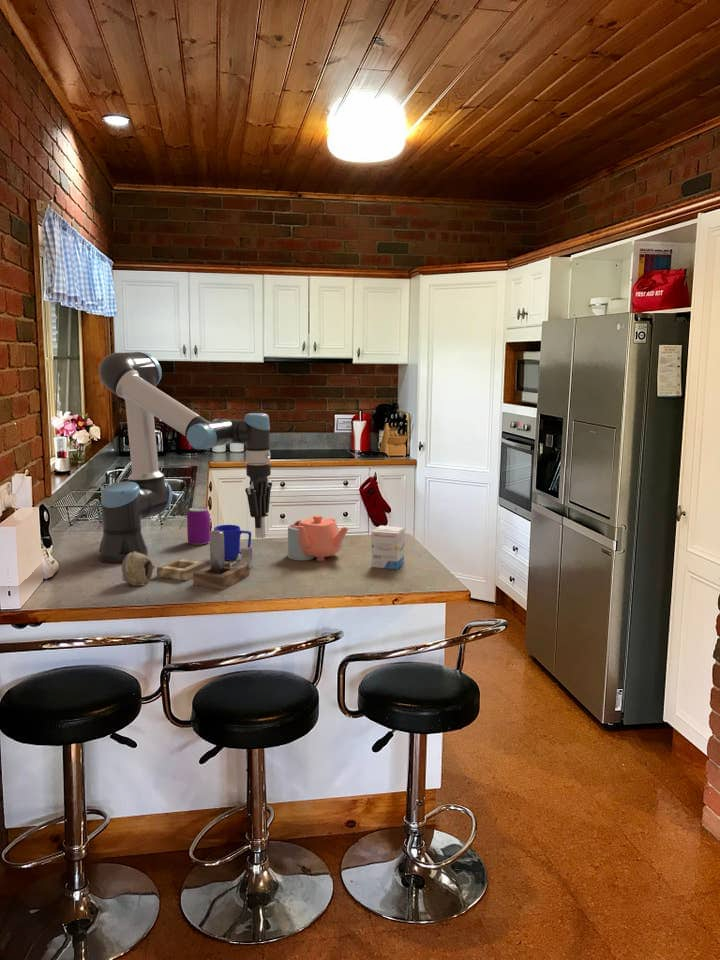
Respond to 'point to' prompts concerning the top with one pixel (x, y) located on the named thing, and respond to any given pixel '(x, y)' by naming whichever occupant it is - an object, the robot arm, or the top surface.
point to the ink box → (388, 547)
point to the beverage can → (198, 526)
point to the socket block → (221, 576)
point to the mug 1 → (232, 540)
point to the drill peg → (217, 552)
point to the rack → (180, 569)
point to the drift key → (246, 556)
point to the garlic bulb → (137, 569)
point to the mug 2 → (295, 544)
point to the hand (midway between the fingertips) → (260, 537)
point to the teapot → (320, 537)
